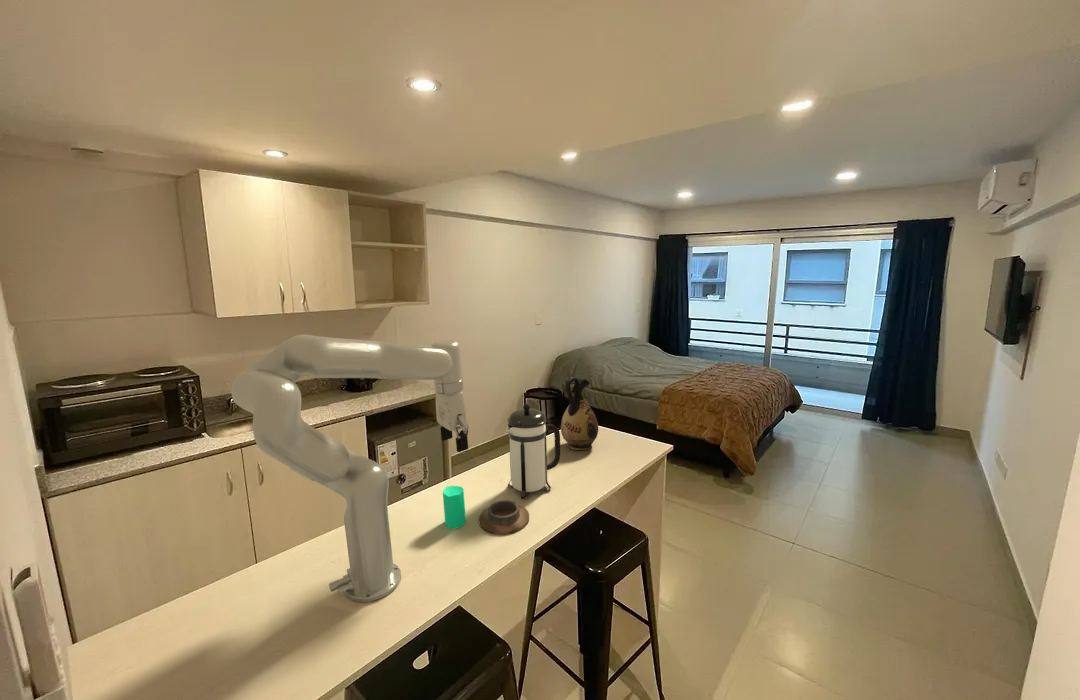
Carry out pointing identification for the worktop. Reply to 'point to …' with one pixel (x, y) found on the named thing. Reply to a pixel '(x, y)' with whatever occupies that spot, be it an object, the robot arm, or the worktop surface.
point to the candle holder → (503, 518)
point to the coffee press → (530, 450)
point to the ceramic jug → (578, 417)
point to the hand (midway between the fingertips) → (454, 444)
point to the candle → (454, 506)
